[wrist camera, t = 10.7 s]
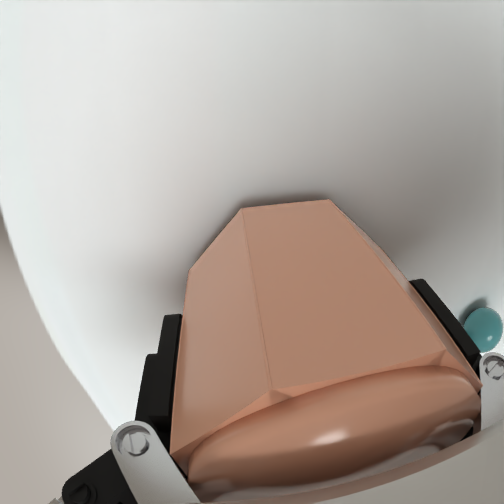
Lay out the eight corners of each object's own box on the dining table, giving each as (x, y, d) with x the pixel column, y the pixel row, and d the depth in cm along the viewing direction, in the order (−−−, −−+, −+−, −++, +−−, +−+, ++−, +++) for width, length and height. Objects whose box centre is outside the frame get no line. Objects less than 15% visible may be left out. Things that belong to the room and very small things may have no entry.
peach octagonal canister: (384, 194, 11) (534, 337, 4) (364, 340, 15) (424, 478, 8) (177, 216, 11) (125, 428, 4) (211, 363, 15) (216, 522, 8)
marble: (490, 345, 17) (483, 305, 18) (514, 342, 14) (505, 298, 15) (459, 359, 17) (451, 317, 18) (482, 358, 14) (473, 311, 15)
